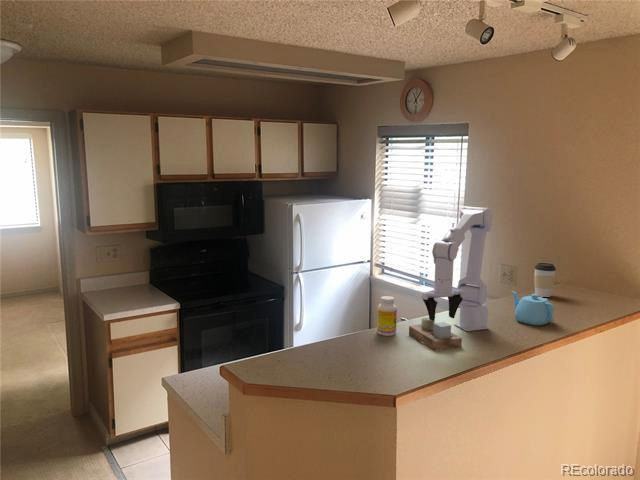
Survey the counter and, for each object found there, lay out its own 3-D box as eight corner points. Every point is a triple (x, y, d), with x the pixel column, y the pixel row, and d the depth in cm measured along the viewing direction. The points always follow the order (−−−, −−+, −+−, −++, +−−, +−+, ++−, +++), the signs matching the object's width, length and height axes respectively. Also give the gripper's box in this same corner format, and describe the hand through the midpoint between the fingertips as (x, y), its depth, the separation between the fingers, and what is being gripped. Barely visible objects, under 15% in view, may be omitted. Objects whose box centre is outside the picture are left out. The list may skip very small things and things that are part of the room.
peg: (443, 342, 171) (444, 321, 170) (450, 346, 167) (451, 325, 166) (432, 343, 169) (433, 323, 168) (439, 347, 166) (440, 326, 165)
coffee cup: (534, 297, 228) (537, 265, 226) (530, 292, 237) (532, 261, 235) (556, 298, 227) (559, 265, 225) (550, 293, 236) (553, 262, 233)
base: (433, 331, 182) (434, 314, 181) (461, 346, 166) (462, 329, 165) (408, 334, 178) (409, 317, 177) (435, 350, 163) (435, 332, 162)
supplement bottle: (395, 337, 175) (396, 300, 173) (376, 335, 176) (377, 299, 174) (396, 330, 182) (397, 295, 180) (377, 329, 183) (378, 294, 181)
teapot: (519, 286, 204) (563, 296, 190) (517, 312, 206) (561, 324, 191) (501, 291, 196) (546, 301, 182) (499, 318, 198) (544, 330, 184)
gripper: (455, 274, 172) (453, 312, 174) (417, 277, 167) (416, 317, 169) (468, 278, 165) (466, 319, 167) (429, 282, 160) (427, 323, 162)
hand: (441, 318), depth 167 cm, fingers open, 7 cm apart
